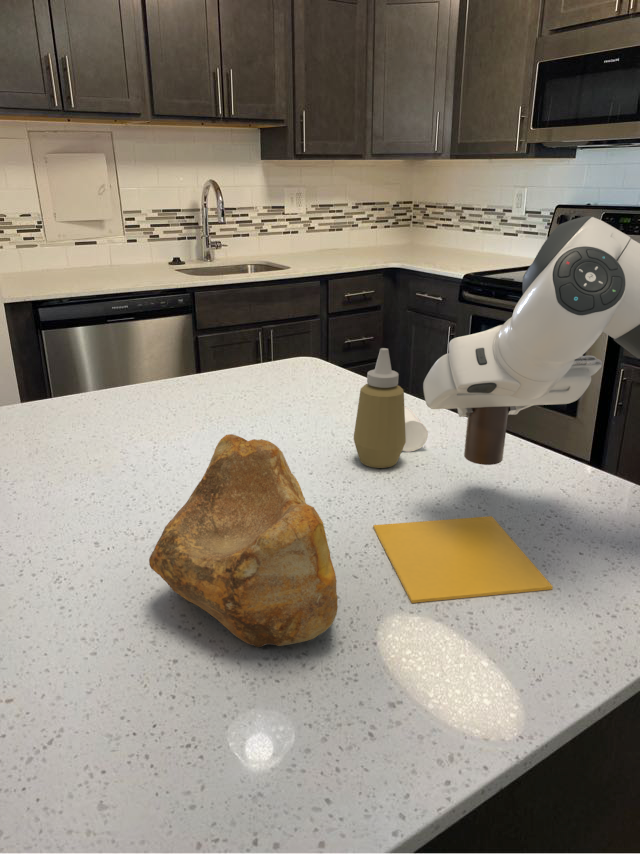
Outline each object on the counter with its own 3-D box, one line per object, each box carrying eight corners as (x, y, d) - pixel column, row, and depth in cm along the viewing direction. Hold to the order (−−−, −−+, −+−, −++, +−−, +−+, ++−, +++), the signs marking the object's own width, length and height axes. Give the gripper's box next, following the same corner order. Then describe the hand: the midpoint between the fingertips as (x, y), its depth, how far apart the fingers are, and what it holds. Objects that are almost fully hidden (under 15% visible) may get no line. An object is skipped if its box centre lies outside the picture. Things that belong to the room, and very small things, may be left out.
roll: (405, 424, 119) (407, 395, 117) (427, 450, 108) (429, 418, 106) (372, 426, 118) (374, 396, 116) (391, 452, 107) (393, 420, 105)
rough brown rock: (145, 559, 78) (123, 445, 72) (280, 525, 83) (270, 416, 77) (180, 703, 58) (153, 562, 52) (354, 647, 63) (349, 512, 57)
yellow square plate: (491, 518, 87) (491, 515, 87) (552, 589, 72) (552, 586, 72) (373, 527, 84) (373, 525, 84) (411, 603, 69) (411, 600, 69)
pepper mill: (493, 448, 94) (504, 351, 89) (509, 463, 90) (521, 362, 84) (458, 451, 93) (467, 353, 88) (472, 466, 89) (483, 363, 84)
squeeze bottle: (360, 474, 99) (365, 357, 93) (346, 453, 106) (350, 343, 100) (411, 470, 101) (419, 355, 94) (395, 449, 108) (401, 341, 102)
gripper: (601, 334, 80) (552, 387, 92) (437, 338, 77) (410, 392, 90) (616, 380, 77) (563, 428, 90) (447, 386, 75) (417, 435, 87)
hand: (485, 410), depth 90 cm, fingers closed on pepper mill, 5 cm apart
